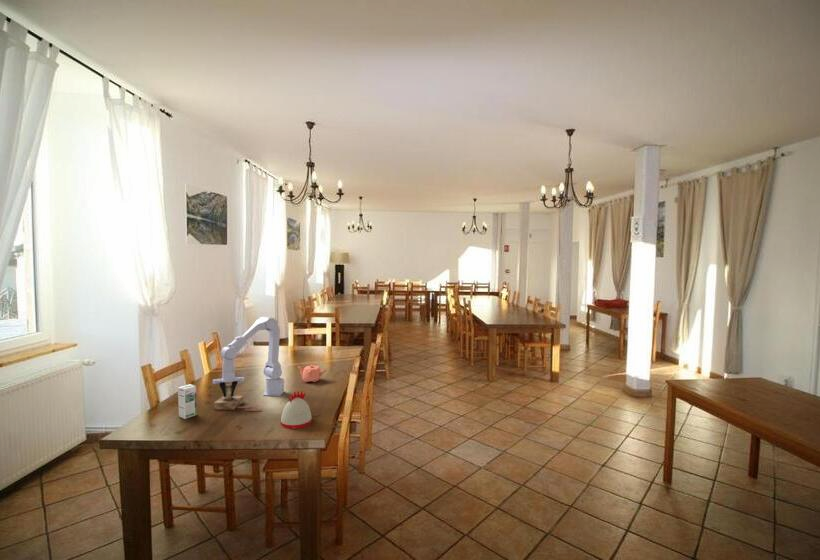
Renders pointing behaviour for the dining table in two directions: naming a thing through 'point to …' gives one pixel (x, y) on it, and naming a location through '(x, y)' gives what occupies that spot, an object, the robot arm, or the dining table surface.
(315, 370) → the teapot
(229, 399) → the tan round log
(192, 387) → the syrup box
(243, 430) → the dining table surface
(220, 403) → the wooden square frame
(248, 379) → the dining table surface
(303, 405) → the kitchen timer
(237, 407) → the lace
